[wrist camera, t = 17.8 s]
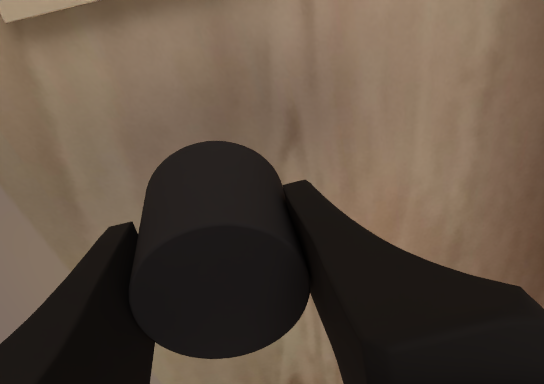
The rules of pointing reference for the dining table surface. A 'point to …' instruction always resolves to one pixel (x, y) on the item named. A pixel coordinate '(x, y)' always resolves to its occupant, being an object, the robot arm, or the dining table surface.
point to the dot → (217, 254)
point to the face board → (35, 8)
